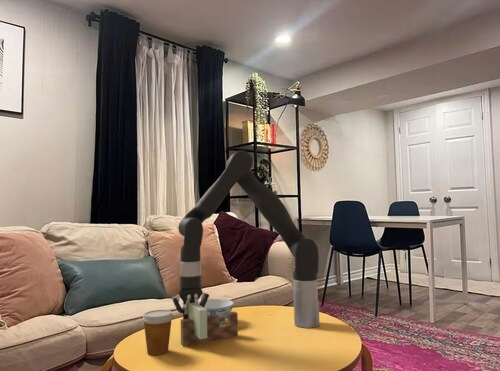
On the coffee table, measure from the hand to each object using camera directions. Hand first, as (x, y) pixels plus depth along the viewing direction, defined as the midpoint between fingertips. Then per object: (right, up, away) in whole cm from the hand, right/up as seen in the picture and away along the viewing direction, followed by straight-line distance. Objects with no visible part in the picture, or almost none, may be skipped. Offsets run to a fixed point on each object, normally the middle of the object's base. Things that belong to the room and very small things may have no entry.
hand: (190, 323), depth 130 cm
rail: (+7, -4, -3) cm, 9 cm away
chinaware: (+7, -6, +17) cm, 19 cm away
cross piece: (+3, -1, -5) cm, 6 cm away
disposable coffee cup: (-8, -4, -13) cm, 16 cm away
